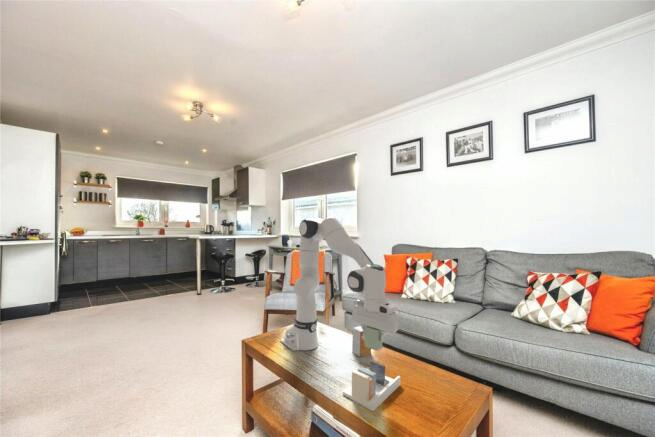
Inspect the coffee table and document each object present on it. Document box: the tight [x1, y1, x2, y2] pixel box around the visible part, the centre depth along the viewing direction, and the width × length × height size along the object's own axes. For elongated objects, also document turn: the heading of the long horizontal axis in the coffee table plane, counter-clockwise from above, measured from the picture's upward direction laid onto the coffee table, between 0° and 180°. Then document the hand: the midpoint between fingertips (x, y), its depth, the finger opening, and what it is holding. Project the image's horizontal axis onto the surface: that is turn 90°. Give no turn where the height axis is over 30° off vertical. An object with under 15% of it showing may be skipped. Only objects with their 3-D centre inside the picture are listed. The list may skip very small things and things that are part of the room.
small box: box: [351, 325, 372, 358], centre depth 141 cm, size 8×6×13 cm
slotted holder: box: [342, 360, 401, 412], centre depth 109 cm, size 14×22×10 cm, turn 139°
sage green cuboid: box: [365, 326, 383, 352], centre depth 110 cm, size 6×4×8 cm, turn 49°
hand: (373, 337), depth 110 cm, fingers closed on sage green cuboid, 6 cm apart
